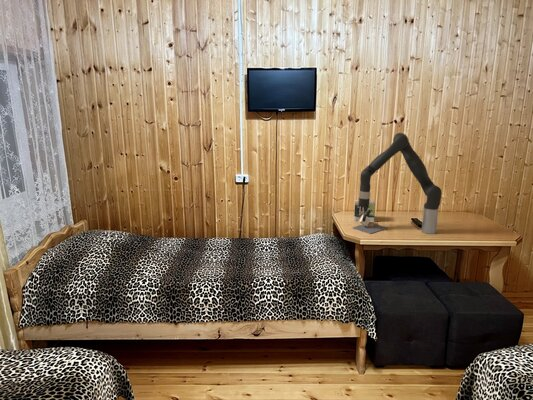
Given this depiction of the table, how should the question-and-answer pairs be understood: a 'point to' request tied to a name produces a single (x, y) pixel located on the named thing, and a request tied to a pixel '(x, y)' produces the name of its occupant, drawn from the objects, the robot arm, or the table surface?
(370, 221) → the slot stand
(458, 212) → the table surface
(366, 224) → the tile
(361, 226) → the mat
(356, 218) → the tea box
